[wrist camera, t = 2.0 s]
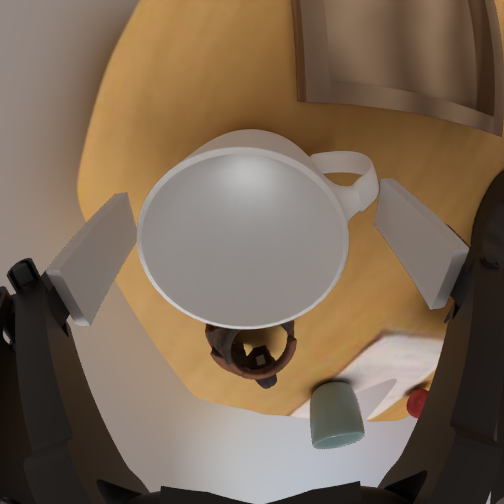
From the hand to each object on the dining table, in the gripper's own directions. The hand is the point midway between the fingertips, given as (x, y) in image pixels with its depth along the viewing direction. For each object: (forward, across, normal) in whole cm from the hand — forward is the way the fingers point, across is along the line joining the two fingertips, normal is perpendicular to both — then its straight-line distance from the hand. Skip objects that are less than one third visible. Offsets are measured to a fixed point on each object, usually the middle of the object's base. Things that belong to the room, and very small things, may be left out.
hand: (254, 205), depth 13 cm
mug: (+9, -1, 0) cm, 9 cm away
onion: (+8, -30, +43) cm, 54 cm away
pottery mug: (+9, +1, +18) cm, 20 cm away
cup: (+8, -10, +35) cm, 38 cm away
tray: (+8, -12, -14) cm, 20 cm away
